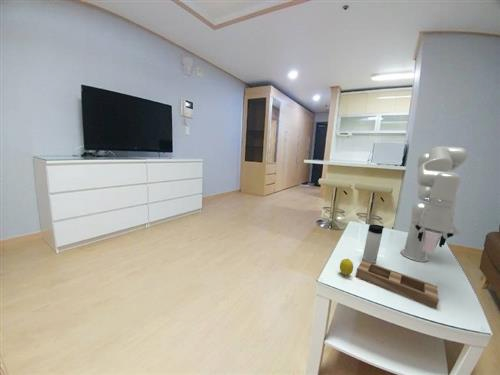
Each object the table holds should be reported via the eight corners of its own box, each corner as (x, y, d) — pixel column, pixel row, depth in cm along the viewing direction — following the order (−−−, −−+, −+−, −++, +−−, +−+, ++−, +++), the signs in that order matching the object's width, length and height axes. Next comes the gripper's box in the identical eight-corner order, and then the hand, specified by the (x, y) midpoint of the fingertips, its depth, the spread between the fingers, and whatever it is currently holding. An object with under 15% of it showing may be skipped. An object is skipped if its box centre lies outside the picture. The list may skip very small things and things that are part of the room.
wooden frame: (360, 267, 105) (362, 259, 104) (434, 294, 88) (437, 286, 87) (355, 276, 97) (357, 268, 96) (436, 309, 80) (438, 299, 79)
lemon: (336, 271, 100) (339, 255, 98) (347, 271, 100) (350, 255, 99) (342, 278, 94) (345, 261, 93) (354, 278, 95) (357, 262, 93)
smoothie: (438, 256, 88) (447, 225, 85) (419, 251, 92) (427, 221, 89) (435, 250, 94) (443, 220, 91) (417, 246, 97) (424, 217, 94)
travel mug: (378, 265, 108) (386, 228, 104) (364, 263, 109) (371, 226, 105) (373, 259, 114) (381, 224, 110) (360, 257, 115) (367, 222, 111)
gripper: (414, 200, 90) (404, 239, 94) (471, 210, 80) (458, 253, 84) (414, 197, 96) (406, 234, 100) (468, 206, 86) (456, 247, 90)
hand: (429, 242), depth 92 cm, fingers closed on smoothie, 6 cm apart
